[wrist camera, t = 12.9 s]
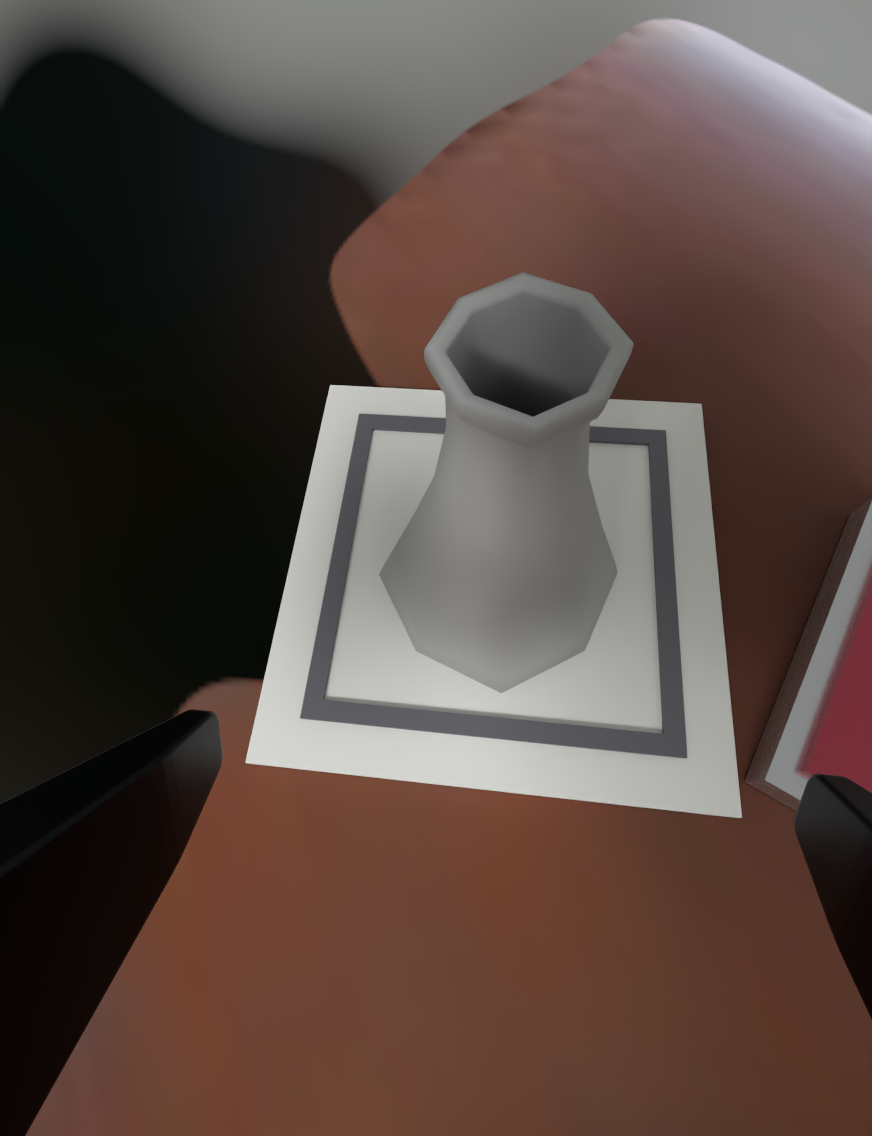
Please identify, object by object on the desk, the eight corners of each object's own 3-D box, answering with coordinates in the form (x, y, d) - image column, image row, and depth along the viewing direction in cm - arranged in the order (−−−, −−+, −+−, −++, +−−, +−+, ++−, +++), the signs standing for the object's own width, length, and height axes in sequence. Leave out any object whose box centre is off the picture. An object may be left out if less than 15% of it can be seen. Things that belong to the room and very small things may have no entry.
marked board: (735, 817, 15) (744, 817, 15) (250, 763, 17) (243, 762, 16) (697, 410, 21) (703, 400, 20) (332, 391, 22) (329, 382, 22)
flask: (342, 577, 18) (219, 353, 9) (492, 446, 20) (514, 146, 11) (502, 739, 16) (550, 655, 7) (655, 575, 18) (855, 335, 9)
